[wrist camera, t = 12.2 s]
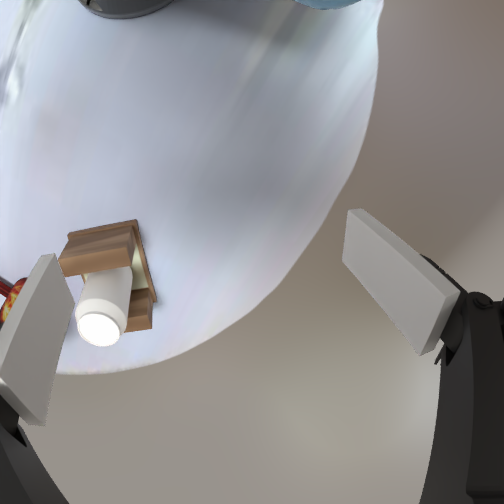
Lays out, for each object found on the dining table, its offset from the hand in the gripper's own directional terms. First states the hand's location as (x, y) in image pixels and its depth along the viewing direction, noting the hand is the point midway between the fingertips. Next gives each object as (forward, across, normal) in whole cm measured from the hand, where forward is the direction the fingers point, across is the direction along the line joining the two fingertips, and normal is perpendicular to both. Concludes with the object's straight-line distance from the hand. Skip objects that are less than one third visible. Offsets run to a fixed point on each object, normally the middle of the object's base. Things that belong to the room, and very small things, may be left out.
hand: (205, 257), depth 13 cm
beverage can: (+25, -12, -15) cm, 32 cm away
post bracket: (+26, -12, -15) cm, 33 cm away
